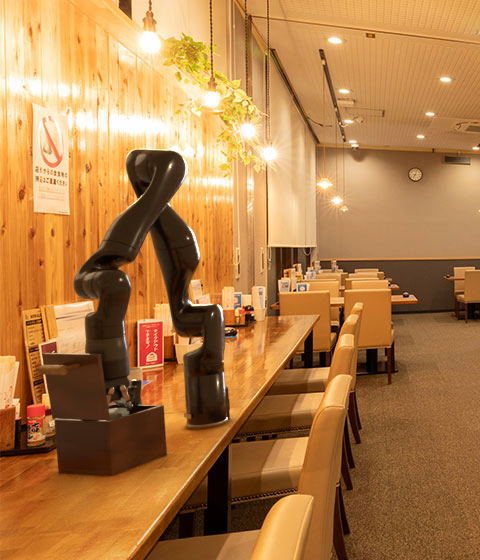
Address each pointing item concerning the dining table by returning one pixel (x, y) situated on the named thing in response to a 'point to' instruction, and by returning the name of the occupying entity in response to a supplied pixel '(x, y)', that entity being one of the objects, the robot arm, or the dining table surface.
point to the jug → (117, 413)
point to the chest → (111, 441)
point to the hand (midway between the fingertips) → (112, 430)
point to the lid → (75, 386)
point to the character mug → (136, 377)
